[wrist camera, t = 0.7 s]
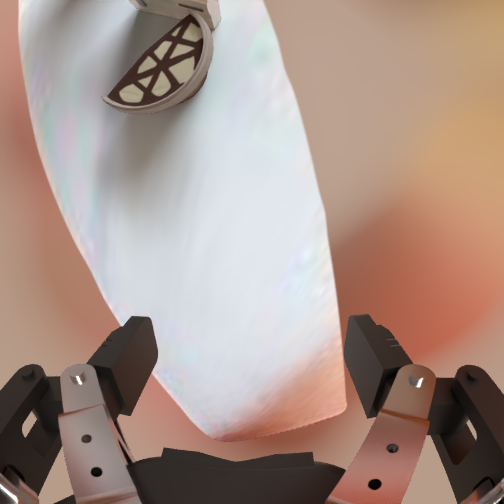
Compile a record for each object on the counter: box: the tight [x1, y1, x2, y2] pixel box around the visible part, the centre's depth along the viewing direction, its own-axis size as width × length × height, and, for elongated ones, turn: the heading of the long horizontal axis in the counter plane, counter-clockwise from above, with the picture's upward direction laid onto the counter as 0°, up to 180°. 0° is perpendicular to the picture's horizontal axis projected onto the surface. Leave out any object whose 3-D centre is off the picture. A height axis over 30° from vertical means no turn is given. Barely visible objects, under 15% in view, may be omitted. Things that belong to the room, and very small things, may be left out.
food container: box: [101, 9, 213, 114], centre depth 24 cm, size 12×6×10 cm, turn 134°
